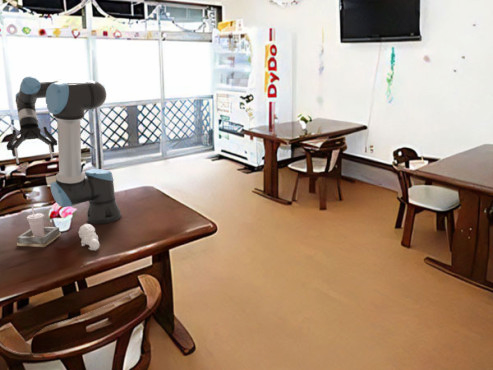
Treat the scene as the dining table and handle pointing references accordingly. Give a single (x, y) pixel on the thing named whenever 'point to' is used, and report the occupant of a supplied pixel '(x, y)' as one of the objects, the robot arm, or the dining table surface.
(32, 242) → the pocket plate
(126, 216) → the dining table surface
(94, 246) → the white lumpy figurine
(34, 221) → the smoothie
